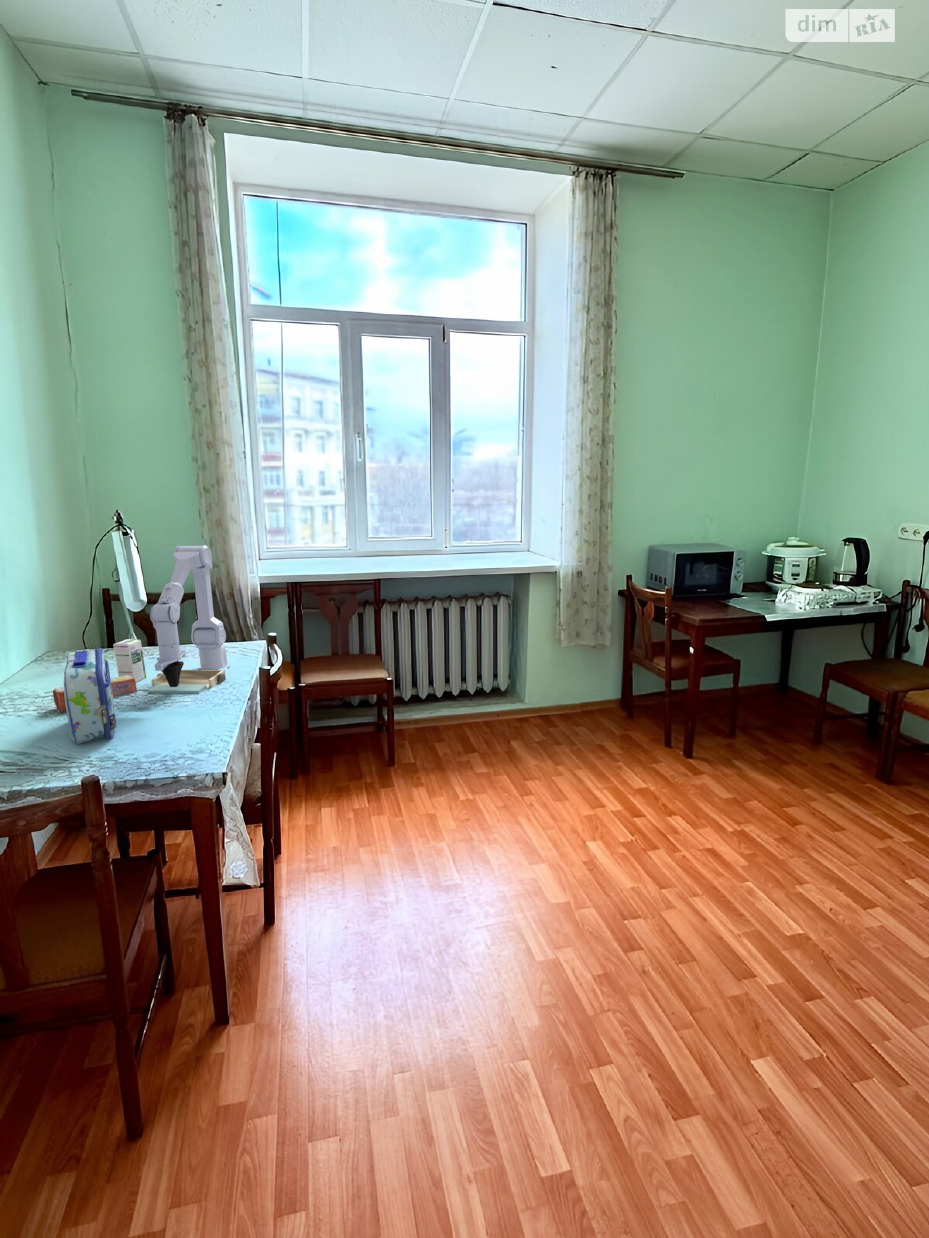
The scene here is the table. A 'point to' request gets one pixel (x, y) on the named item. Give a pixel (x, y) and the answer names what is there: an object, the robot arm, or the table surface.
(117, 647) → the syrup box
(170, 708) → the table surface
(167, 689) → the tailgate
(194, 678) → the beige tray
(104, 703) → the lunch box
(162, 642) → the robot arm
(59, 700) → the snack package
